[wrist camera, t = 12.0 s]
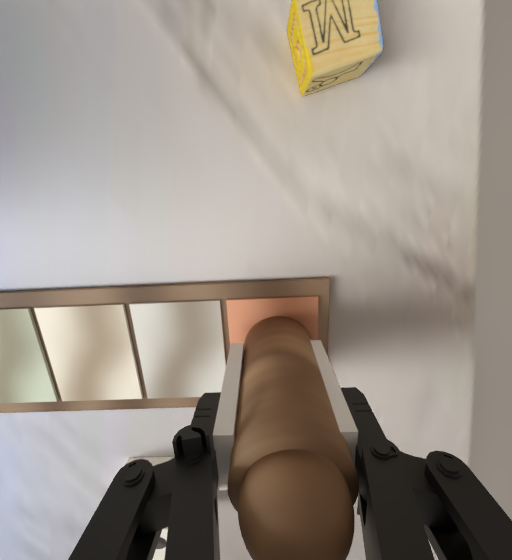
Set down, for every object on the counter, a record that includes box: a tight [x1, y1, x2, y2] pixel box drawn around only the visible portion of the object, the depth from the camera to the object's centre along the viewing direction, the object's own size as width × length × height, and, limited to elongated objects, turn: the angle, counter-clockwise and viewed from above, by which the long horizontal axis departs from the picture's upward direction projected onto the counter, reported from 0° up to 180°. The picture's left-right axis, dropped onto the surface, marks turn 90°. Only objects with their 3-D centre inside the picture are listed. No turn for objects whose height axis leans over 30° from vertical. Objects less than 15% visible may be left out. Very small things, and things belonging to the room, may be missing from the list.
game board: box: [0, 278, 330, 413], centre depth 19 cm, size 25×9×1 cm, turn 93°
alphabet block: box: [287, 0, 383, 96], centre depth 12 cm, size 3×3×3 cm
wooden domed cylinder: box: [228, 316, 359, 560], centre depth 13 cm, size 4×4×11 cm
